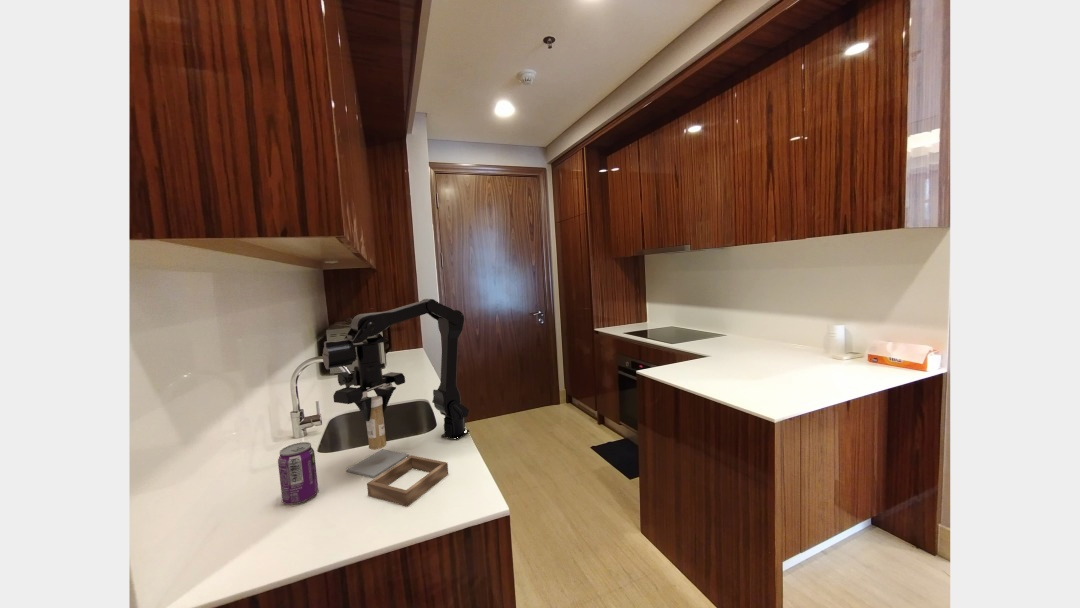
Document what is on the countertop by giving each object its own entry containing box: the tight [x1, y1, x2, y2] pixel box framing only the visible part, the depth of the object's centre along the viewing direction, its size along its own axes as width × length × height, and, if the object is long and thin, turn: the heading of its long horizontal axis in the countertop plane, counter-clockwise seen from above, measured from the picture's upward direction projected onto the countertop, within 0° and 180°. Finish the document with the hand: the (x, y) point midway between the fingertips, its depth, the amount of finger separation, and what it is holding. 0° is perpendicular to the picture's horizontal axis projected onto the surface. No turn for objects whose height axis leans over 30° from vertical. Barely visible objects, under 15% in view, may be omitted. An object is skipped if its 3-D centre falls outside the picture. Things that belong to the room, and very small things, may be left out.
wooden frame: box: [366, 454, 449, 507], centre depth 90 cm, size 14×12×3 cm
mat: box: [346, 448, 410, 479], centre depth 101 cm, size 12×10×1 cm
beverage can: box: [277, 441, 319, 505], centre depth 86 cm, size 7×7×12 cm
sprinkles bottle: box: [365, 395, 387, 451], centre depth 100 cm, size 5×5×13 cm
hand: (374, 417), depth 100 cm, fingers closed on sprinkles bottle, 4 cm apart
